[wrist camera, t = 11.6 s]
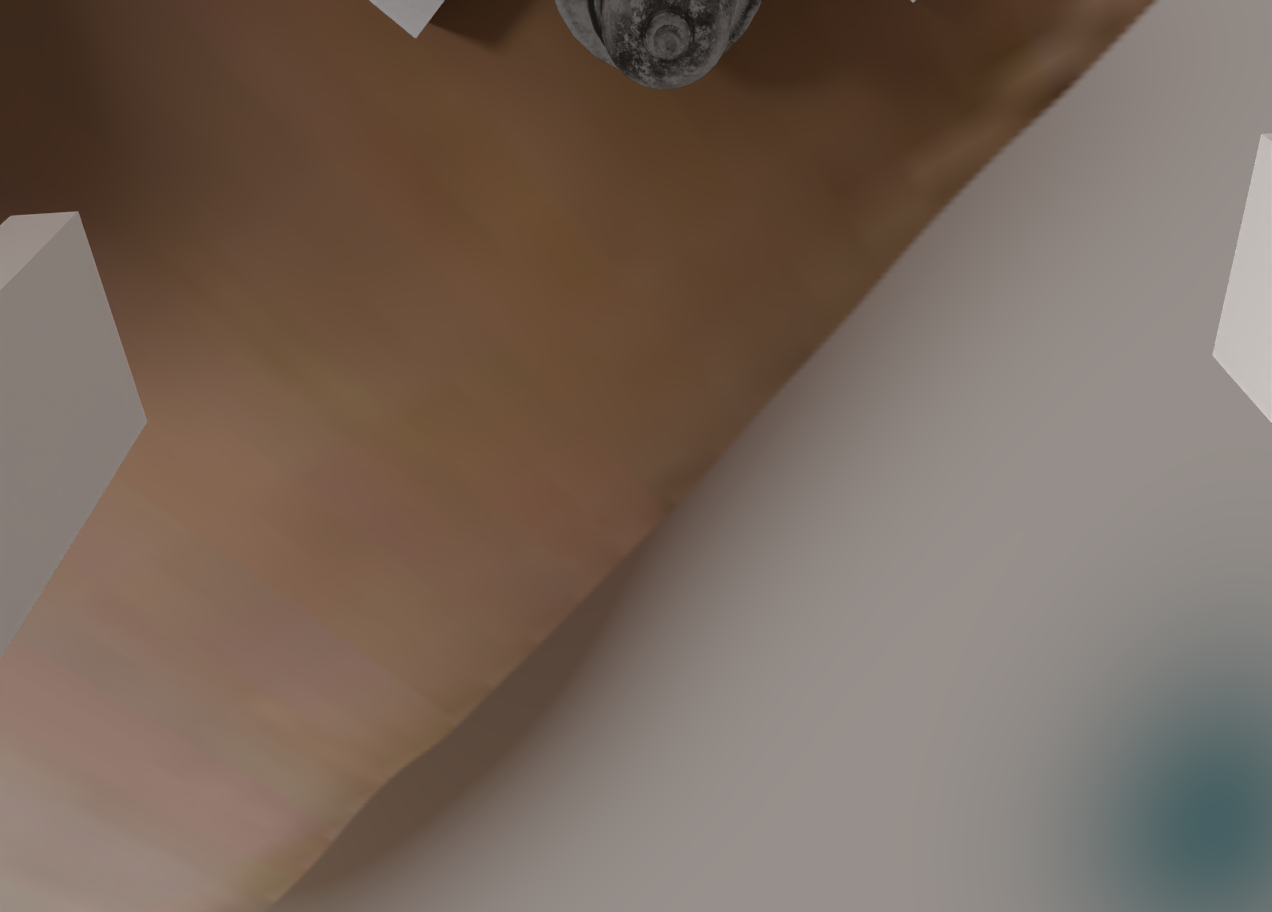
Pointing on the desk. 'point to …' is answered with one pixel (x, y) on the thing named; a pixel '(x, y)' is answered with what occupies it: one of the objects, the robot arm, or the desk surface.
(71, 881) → the desk surface
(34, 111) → the desk surface
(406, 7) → the v block
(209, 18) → the desk surface
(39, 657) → the desk surface
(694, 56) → the grey tall rounded piece
